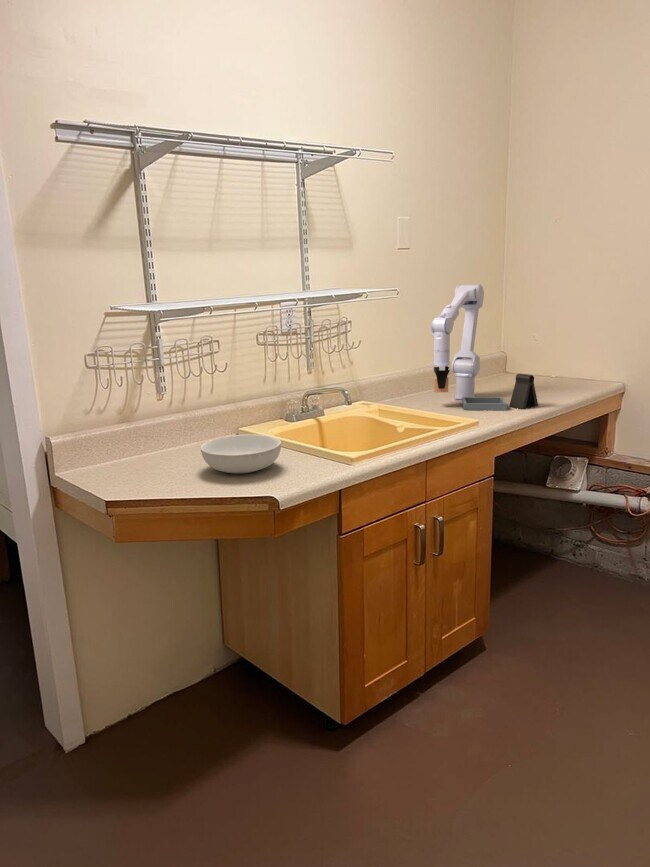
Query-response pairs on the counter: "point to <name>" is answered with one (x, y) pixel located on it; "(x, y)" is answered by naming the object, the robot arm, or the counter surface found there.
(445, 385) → the orange block
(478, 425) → the counter surface
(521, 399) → the phone stand
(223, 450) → the serving bowl
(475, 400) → the slate tray
